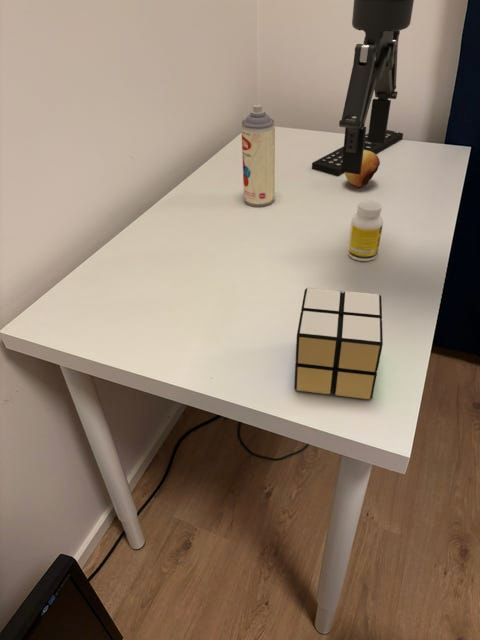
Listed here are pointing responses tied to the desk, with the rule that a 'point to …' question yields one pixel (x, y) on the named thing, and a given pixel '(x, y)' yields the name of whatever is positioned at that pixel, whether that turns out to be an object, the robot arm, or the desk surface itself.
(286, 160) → the desk surface
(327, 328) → the puzzle cube
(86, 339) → the desk surface
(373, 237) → the supplement bottle
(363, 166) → the fruit
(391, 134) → the remote control
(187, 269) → the desk surface
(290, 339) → the desk surface
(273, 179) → the aerosol can
